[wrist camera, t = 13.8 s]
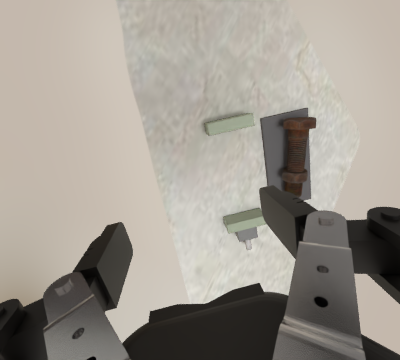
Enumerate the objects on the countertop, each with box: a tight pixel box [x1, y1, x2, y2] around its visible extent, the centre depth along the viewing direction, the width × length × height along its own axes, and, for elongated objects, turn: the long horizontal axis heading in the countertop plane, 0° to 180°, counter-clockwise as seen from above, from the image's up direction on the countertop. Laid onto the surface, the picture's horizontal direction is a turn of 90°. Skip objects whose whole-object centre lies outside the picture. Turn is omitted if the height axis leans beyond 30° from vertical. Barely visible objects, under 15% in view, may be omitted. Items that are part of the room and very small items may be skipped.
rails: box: [205, 113, 266, 250], centre depth 40 cm, size 28×8×4 cm, turn 12°
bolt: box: [282, 117, 316, 197], centre depth 39 cm, size 6×5×15 cm
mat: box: [260, 108, 311, 201], centre depth 41 cm, size 19×9×1 cm, turn 12°
